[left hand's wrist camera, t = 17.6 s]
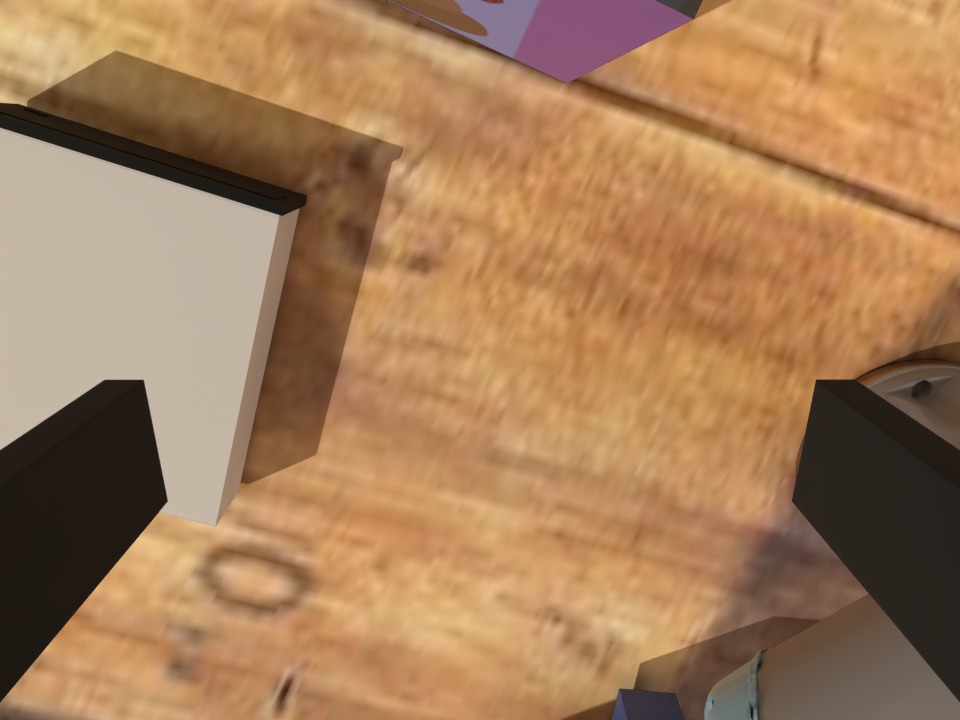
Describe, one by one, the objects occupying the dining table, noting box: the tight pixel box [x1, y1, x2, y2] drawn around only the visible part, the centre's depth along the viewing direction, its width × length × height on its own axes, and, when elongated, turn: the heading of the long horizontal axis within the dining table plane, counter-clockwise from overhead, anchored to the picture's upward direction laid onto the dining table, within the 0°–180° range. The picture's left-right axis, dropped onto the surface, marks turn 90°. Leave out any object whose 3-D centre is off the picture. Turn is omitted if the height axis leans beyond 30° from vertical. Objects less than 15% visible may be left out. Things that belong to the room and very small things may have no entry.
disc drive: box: [0, 103, 307, 527], centre depth 40 cm, size 18×22×5 cm
